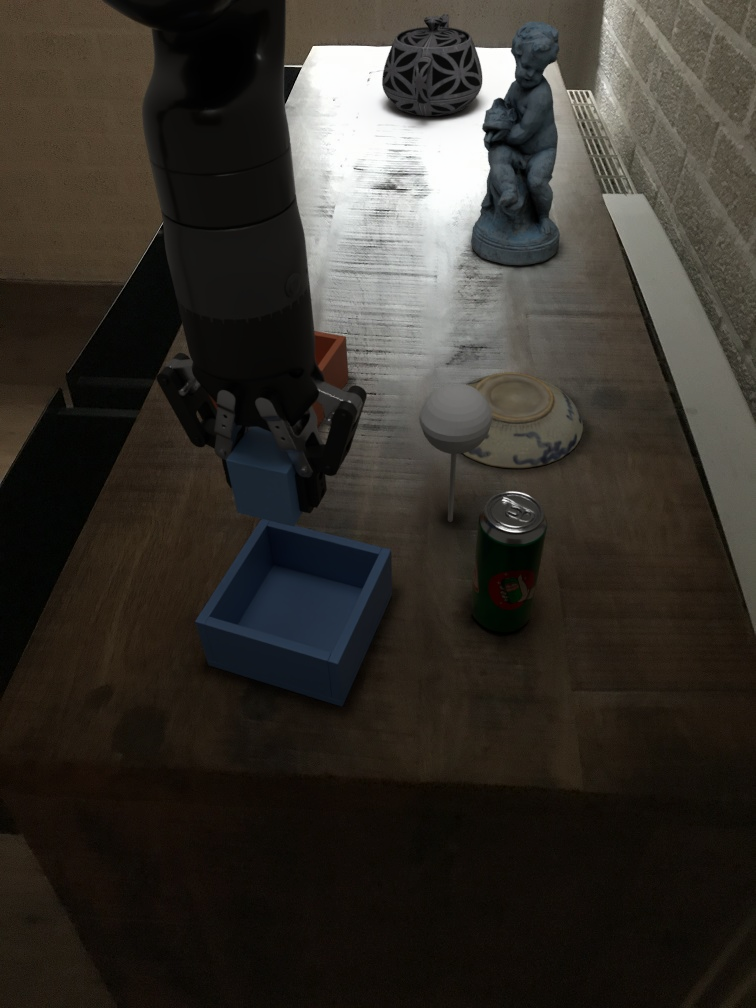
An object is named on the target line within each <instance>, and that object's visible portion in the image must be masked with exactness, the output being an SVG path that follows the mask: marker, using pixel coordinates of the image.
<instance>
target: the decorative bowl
mask: <svg viewBox="0 0 756 1008" xmlns="http://www.w3.org/2000/svg"><path fill="white" fill-rule="evenodd" d="M465 384H466V385H469V386H471V387H473V388H475V389H477V390H478V391H479V392H480V393H481V394H482V395H483V396H484V397H485V399H486V401H487V402H488V404H489V405H490V408H491V410H492V424H491V427H490V430H489V432H488V434H487V436H486V438H485V439H484V440H483V442H482V443H481V444H480V445H479V446H477V447H476V448H474V449H473V450H471V451H469V452H466V453H462V454H463V455H464V456H465V457H467V458H469V459H470V460H472V461H475V462H477V463H481V464H483V465H486V466H490V467H496V468H501V469H502V468H504V469H518V470H519V469H530V468H535V467H541V466H545V465H549V464H551V463H553V462H556V461H559V460H561V459H563V458H564V457H565V456H567V455H568V454H569V453H572V451H573V450H575V449H576V447H577V445H578V444H579V442H580V441H581V438H582V434H584V433H583V432H584V426H583V424H584V423H583V420H582V416H581V414H580V412H579V410H578V408H577V406H576V405H575V403H574V402H573V400H572V399H571V398H570V396H568V395H567V394H566V393H565V392H564V391H562V390H561V389H560V388H558V387H557V386H555V385H554V384H552V383H550V382H549V381H546V380H545V379H544V380H543V379H541V378H538V377H534V376H533V375H529V374H526V373H521V372H520V373H519V372H512V371H511V372H510V371H509V372H508V371H507V372H499V373H498V372H497V373H494V374H490V375H486V376H481V377H479V378H476V379H473V380H471V381H469V382H467V383H465Z"/></svg>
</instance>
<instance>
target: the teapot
mask: <svg viewBox="0 0 756 1008" xmlns="http://www.w3.org/2000/svg"><path fill="white" fill-rule="evenodd" d="M423 22H424V24H425V25H426V26H422V27H421V26H420V27H415V28H414V27H413V28H410V29H409V28H408V29H406V30H404V31H401V32H399V33H397V35H396V36H395V38H394V40H393V42H392V44H391V47H390V49H389V52H388V54H387V57H386V60H385V63H384V66H383V72H382V78H381V85H382V90H383V92H384V94H385V96H386V97H387V99H388V100H389V101H390V102H391V104H394V105H395V107H396V108H397V109H398V110H399V111H402V112H404V113H407V114H411V115H415V116H425V117H435V116H436V117H437V116H438V117H439V116H445V115H450V114H451V115H452V114H455V113H458V112H461V111H463V110H464V109H466V108H467V107H468V106H469V104H470V103H472V102H473V101H474V100H475V99H476V98H477V97H478V95H479V93H481V89H482V87H483V69H482V64H481V60H480V57H479V54H478V51H477V49H476V46H475V42H474V40H473V38H472V36H471V34H470V33H468V31H465V30H462V29H459V28H455V27H449V26H450V24H449V22H450V15H449V14H448V13H444V14H442V15H441V16H438V15H430V16H427V17H424V19H423Z"/></svg>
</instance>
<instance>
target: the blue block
mask: <svg viewBox="0 0 756 1008" xmlns="http://www.w3.org/2000/svg"><path fill="white" fill-rule="evenodd" d="M226 463H227V467H228V472H229V476H230V481H231V485H232V488H231V490H232V494H233V498H234V503H235V509H236V512H237V513H238V514H241V515H244V516H250V517H252V518H256V519H260V520H261V519H265V520H269V521H273V522H277V523H281V524H285V525H290V526H297V523H298V521H299V520H300V518H301V516H302V515H303V513H304V512H301V511H300V509H299V502H298V495H297V488H296V481H295V474H296V470H295V468H294V466H293V464H292V462H291V460H290V458H289V456H288V454H287V452H282V451H281V450H280V449H279V447H278V445H277V442H276V440H275V438H274V436H273V434H272V432H269V431H267V430H265V429H262V428H260V427H249V429H248V428H247V432H246V433H245V434H244V436H243V437H242V438H241V440H240V441H239V443H238V444H237V445H236V447H235V448H234V450H233V451H232V452H231V454H230V455H229V456H228V458H227V459H226Z"/></svg>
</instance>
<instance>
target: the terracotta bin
mask: <svg viewBox="0 0 756 1008" xmlns="http://www.w3.org/2000/svg"><path fill="white" fill-rule="evenodd" d="M314 332H315V360H316V363H317V365H318V367H319V369H320V370H321V372H322V373H323V375H324V379H325V382H326V383H328V384H330V385H333V386H335V387H337V388H339V389H342V390H344V388H345V386H346V384H347V383H348V382H349V365H348V348H347V347H348V345H347V336H346V335H339V334H334V333H330V332H329V333H328V332H322V331H318V330H314ZM209 396H210V395H209ZM210 398H211V400H212V402H213V404H214V406H215V408H216V410H217V407H218V406H217V403H216V402H215V401H214V400H213V398H212V397H211V396H210ZM312 407H313V409H314V412H315V414H316V416H317V429H318V428H319V426H320V425H321V423H322V422H323V420H324V418H325V417H324V409H323V407H322V405H321V404H320V403H318V402H317V401H315V402H314V403H313V405H312ZM248 429H249V427H248V428H247V430H248Z"/></svg>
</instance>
